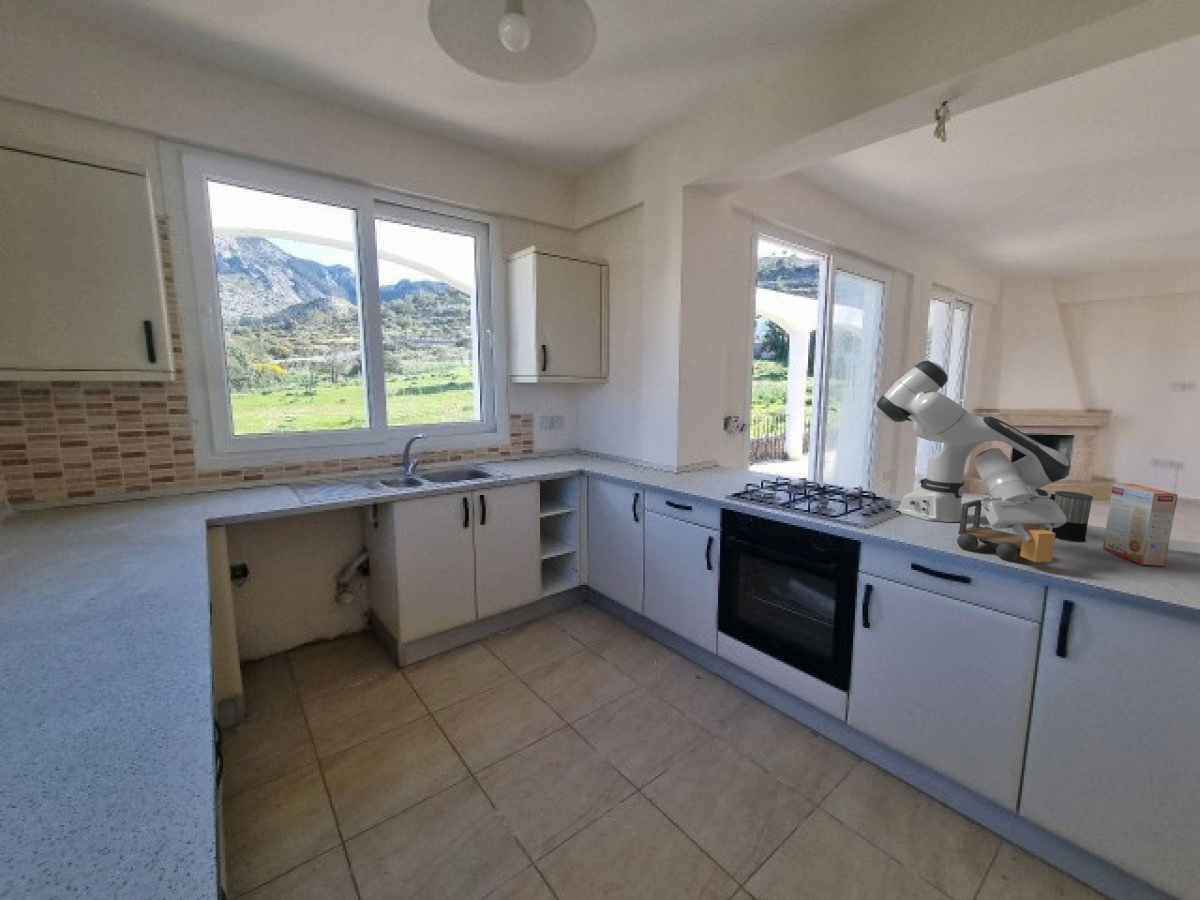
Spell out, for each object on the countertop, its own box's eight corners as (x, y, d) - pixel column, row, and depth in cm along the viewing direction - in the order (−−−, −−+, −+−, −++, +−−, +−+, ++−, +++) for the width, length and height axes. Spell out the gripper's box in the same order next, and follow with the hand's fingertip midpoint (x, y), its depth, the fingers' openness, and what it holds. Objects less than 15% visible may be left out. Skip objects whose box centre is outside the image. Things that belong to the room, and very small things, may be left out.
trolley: (954, 547, 152) (959, 504, 150) (975, 539, 160) (980, 498, 158) (1018, 564, 139) (1024, 517, 137) (1038, 555, 146) (1044, 510, 144)
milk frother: (1090, 539, 160) (1097, 495, 158) (1076, 548, 152) (1083, 501, 150) (1034, 528, 172) (1040, 486, 170) (1018, 536, 163) (1024, 492, 161)
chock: (1020, 556, 138) (1023, 528, 137) (1035, 555, 138) (1039, 528, 137) (1035, 562, 134) (1039, 533, 132) (1051, 561, 134) (1055, 533, 133)
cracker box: (1166, 567, 137) (1180, 493, 134) (1140, 565, 138) (1153, 492, 135) (1124, 550, 150) (1135, 483, 147) (1101, 548, 152) (1111, 482, 148)
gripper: (985, 491, 140) (1011, 536, 132) (1054, 491, 141) (1084, 535, 133) (971, 503, 145) (995, 546, 137) (1037, 502, 146) (1065, 545, 138)
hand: (1040, 540), depth 135 cm, fingers closed on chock, 5 cm apart
